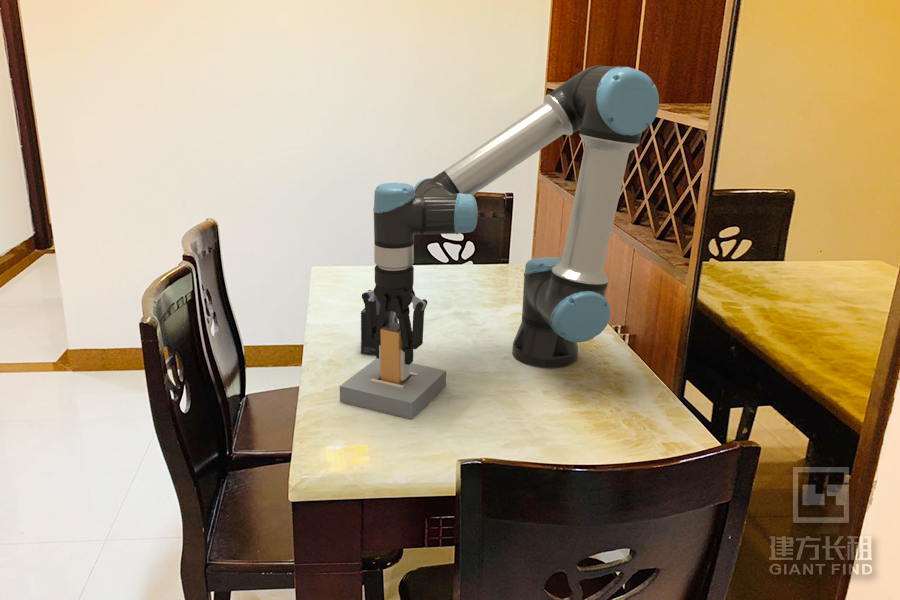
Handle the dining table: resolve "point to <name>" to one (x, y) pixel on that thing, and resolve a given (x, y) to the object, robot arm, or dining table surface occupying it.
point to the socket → (393, 390)
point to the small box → (366, 344)
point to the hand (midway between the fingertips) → (394, 375)
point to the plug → (391, 353)
